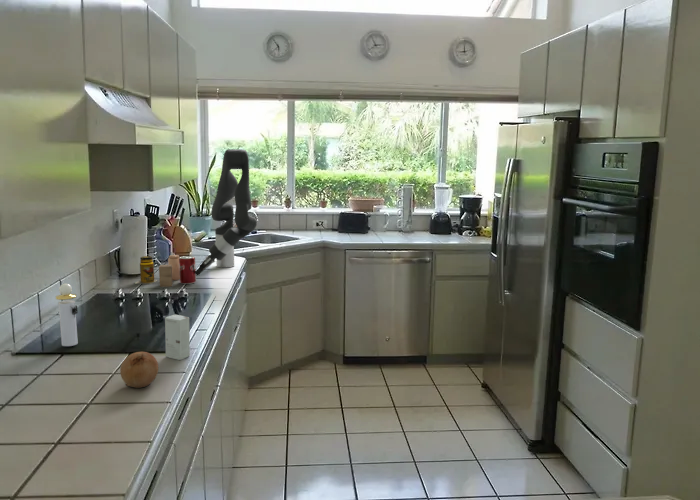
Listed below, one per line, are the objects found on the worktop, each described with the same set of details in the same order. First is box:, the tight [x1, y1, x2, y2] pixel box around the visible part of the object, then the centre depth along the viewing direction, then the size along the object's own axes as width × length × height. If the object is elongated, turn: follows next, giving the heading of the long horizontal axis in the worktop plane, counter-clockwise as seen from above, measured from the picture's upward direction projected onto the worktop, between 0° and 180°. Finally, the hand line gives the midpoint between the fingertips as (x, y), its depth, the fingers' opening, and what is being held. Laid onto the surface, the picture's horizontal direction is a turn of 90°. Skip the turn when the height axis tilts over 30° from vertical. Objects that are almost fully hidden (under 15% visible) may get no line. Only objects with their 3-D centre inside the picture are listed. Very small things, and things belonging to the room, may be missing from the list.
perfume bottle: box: [55, 283, 79, 347], centre depth 187 cm, size 6×6×20 cm
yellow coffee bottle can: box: [135, 255, 159, 285], centre depth 279 cm, size 7×8×12 cm
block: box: [158, 264, 174, 288], centre depth 272 cm, size 5×5×9 cm
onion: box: [119, 351, 159, 389], centre depth 157 cm, size 10×9×10 cm
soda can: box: [179, 255, 197, 285], centre depth 277 cm, size 7×7×12 cm
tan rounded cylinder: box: [167, 254, 181, 281], centre depth 286 cm, size 6×6×11 cm
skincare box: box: [164, 314, 191, 361], centre depth 178 cm, size 6×4×12 cm
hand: (196, 273), depth 277 cm, fingers closed
